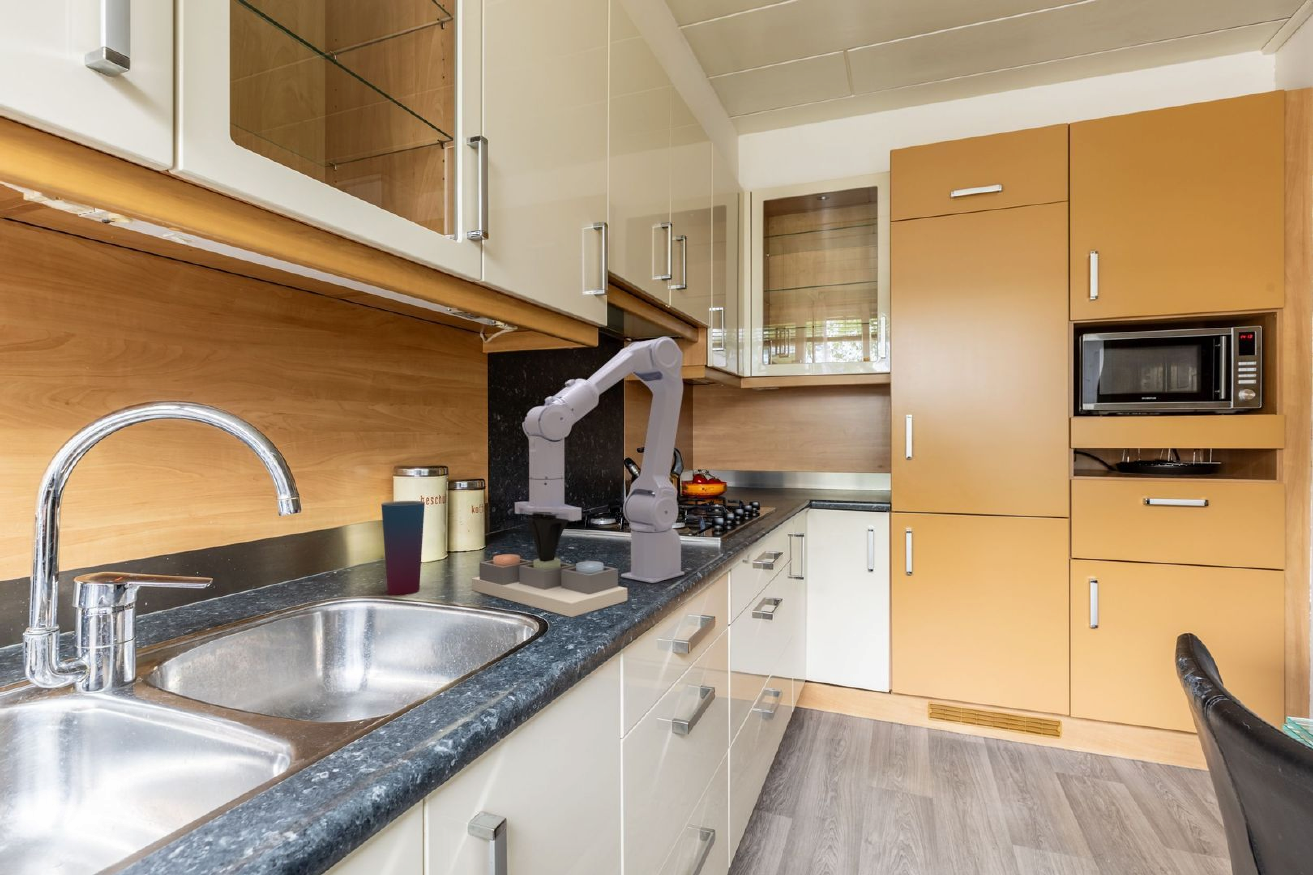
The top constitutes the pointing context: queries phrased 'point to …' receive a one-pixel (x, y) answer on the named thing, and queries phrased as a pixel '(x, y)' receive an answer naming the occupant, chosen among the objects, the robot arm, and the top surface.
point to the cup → (403, 545)
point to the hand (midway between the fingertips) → (546, 560)
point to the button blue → (589, 567)
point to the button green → (547, 564)
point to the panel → (551, 587)
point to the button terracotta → (506, 560)
